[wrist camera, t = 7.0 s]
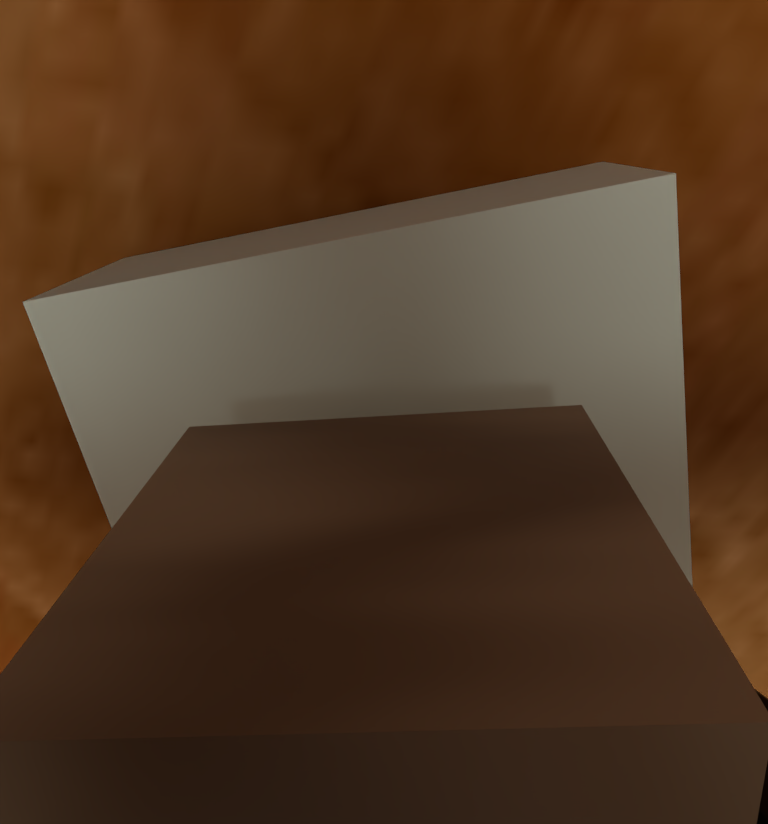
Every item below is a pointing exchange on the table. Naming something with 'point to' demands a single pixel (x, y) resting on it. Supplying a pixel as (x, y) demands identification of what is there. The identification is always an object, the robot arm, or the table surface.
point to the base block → (394, 327)
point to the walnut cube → (382, 641)
